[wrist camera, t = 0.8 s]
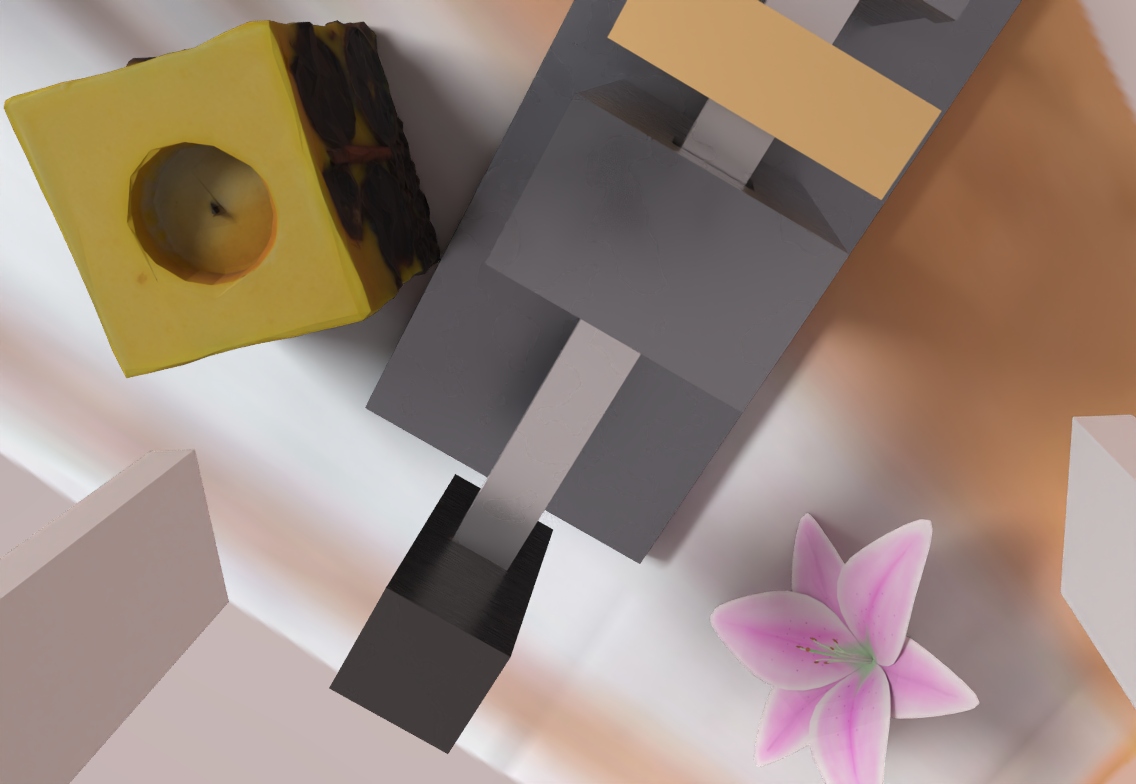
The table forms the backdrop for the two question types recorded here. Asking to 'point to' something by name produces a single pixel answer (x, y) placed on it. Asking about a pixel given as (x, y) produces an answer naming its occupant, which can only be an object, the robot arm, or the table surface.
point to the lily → (841, 653)
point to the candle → (231, 190)
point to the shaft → (514, 501)
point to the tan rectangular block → (783, 83)
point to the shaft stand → (645, 261)
